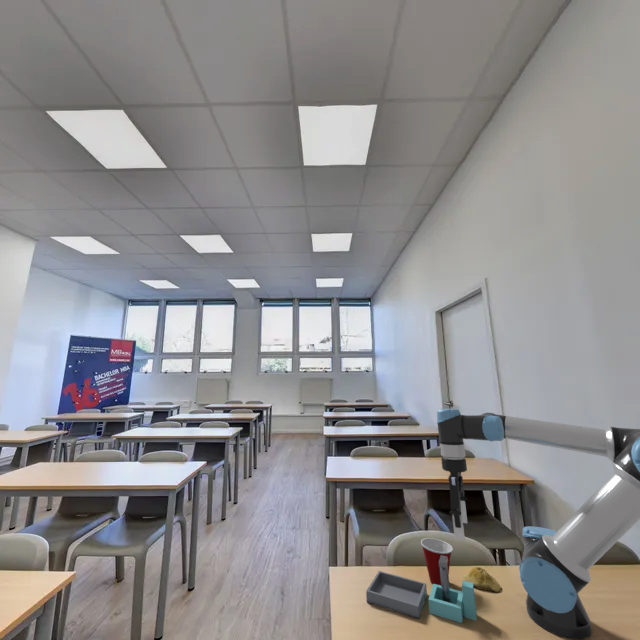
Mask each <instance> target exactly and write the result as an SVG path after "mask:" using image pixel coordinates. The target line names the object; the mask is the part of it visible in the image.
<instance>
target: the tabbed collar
mask: <svg viewBox="0 0 640 640" xmlns="http://www.w3.org/2000/svg"><path fill="white" fill-rule="evenodd" d="M461 589H462V590H458V589H456V588H455V589H454V588H452V587H450V597H451V603H449V602H445V601H443V600H442V588H441V586H440V585H437V584H433V585H432V587H431V590H430V592H429V596H428V609H429V614H431V615H434V616H437V617H442V618H443V619H447V620H451V621H453V622H457V623H460V624H463V619H464V618H466V619H469V620H472V621H477V613H478V612H477V606H476V605H477V604H476V596H475V586H474V585H473V583H471V582H467V581H465V580H462V582H461Z"/></svg>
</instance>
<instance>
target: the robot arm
mask: <svg viewBox="0 0 640 640" xmlns="http://www.w3.org/2000/svg"><path fill="white" fill-rule="evenodd" d="M436 418H437V419H436V420H437V422H436V424H437V429H438V430H437V431H438V438H439V445H438V446H437V449H439V450H440V455H441V460H440V461H441V468H442V470H443V471H445V472H449V475H448V478H447V479H448V482H449V483H448V484H449V498H450V502H449V503H450V510H449V511H448V513H449V515H451V516H452V526H453V535H454V539H455V540H461V541H465V540H466V537H465V528H464V524H468V523H469V522H468V516H467V508H466V501H468V497H467V496H465V495H466V494H465V491H464V490H465V489H464V483H463V482H464V479H463V475H462V473H465V472H467V470H468V467H467V459H466V458H465V457H466V449H465V442H464V440H475V441H476V440H477V441H489V442H501V441H503V440H504V439H507V440H513V441H518V442H523V443H528V444H529V443H530V444H533V445H541V446H545V447H549V448H556V449H563V450H567V451H572V452H579V453H585V454H589V455H595V456H600V457H605V458H607V459H608V460H610V462H611V464H612V466H613V469H614V470H613V473H612V474H610V476H609V477H608V478H607V479H606V480H605V481H604V482H603V483H602V484H601V485H600V486H599V487H598V489H596V490H595V491H594V492H593V494H591V495H590V496H589V498H588V499H587V500H586V501H585V502H584V503H583V504H582V505H581V506H580V507H579V508H578V509H577V510H576V512H575V513H574V514H573V515H572V516H571V517H570V518H569V519H568V520H567V521H566V522H565V523H564V524H563V525H562V526H561V527H560V528H559V530H554V529H550V528H546V527H541V526H540V527H539V526H530V525H529V526H524V527H523V528H522V537H523V544H524V546H523V547H524V548H523V553H522V557H521V562H520V564H519V577H520V581H521V583H522V586H523V588H524V590H525V592H526V599H525V605H526V611H527V614H528V616H529V618H531V620H532V621H533V622H535V623H536V625H538V626H540V627H542V629H544V630H546V631H548V632H551V633H552V634H554V635H557V636H561V637H563V638H568V639H573V640H584V639H588V638H590V637H591V635H592V634H593V629H592V628H593V627H592V623H591V620H590V617H589V615H588V613H587V611H586V608H585V606H584V604H583V602H582V600H581V598H580V596H579V593H580V592H581V591H582V590H583V589H584V588H585V587H586V586H587V585H588V584H589V583H591V581H592V578H591V575H590V569H591V568H592V567H593V566H594V565H595V564H596V563H597V562H598V561H599V560H600V559H601V558H602V557H603V556H604V555H605V554H606V553H607V552H609V550H610V549H611V548H612V547H613V546H614V545H615V544H616V543H617V542H618V541H619V540H620V539H621V538H622V537H624V536H625V534H626V533H628V532H629V530H631V529H632V527H633V526H635V525H636V524H637V523H638V522H639V521H640V428H624V427H614V426H607V427H606V428H603V429H602V428H597V427H588V426H582V425H577V424H576V425H575V424H569V423H568V424H566V423H561V422H553V421H544V420H539V419H538V420H537V419H529V418H525V417H524V418H523V417H517V416H509V415H501V414H496V413H494V412H484V413H482V414H480V415H473V414H472V415H468V414H467V415H465V414H464V415H463V414H461V411H460V409H458V408H439V409H438V410H437V411H436Z"/></svg>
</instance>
